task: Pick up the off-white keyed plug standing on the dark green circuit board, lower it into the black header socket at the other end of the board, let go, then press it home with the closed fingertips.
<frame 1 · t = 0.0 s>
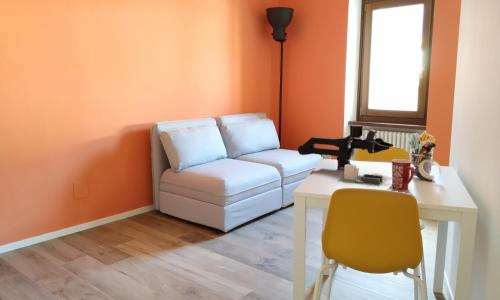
hand: (391, 146, 216), 17 cm above the table, tool horizontal, fingers open, 9 cm apart
board: (362, 183, 207), on the table
header: (371, 184, 204), resting on board
mug: (402, 189, 196), on the table
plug: (349, 178, 210), point 1 cm above the table, touching board
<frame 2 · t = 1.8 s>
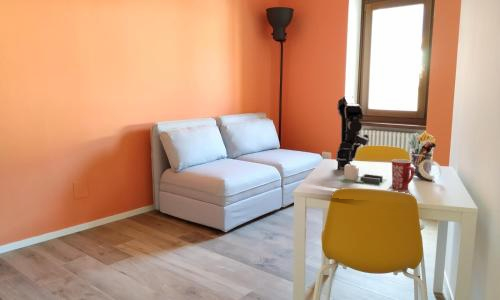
hand: (350, 159, 208), 11 cm above the table, tool pointing down, fingers open, 9 cm apart
nothing on the table moved.
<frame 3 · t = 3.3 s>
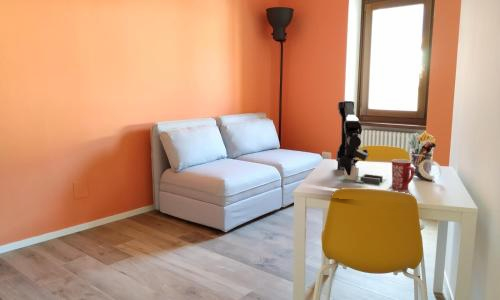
hand: (350, 174, 209), 4 cm above the table, tool pointing down, fingers closed on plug, 3 cm apart
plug: (349, 178, 210), point 2 cm above the table, touching board, gripper
everything else where it was.
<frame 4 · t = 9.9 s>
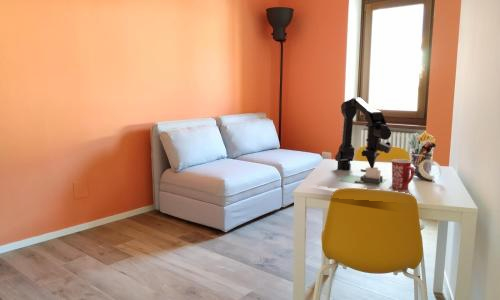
hand: (372, 167, 203), 8 cm above the table, tool pointing down, fingers closed, pressing on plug
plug: (371, 181, 204), point 1 cm above the table, touching board, gripper
everything else where it was.
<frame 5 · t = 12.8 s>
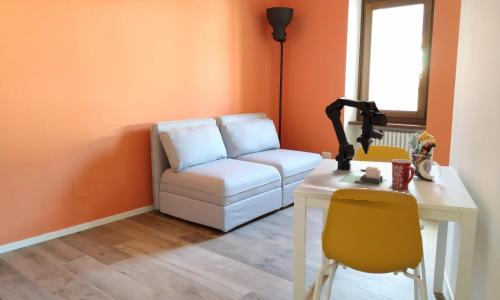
hand: (366, 153, 217), 13 cm above the table, tool pointing down, fingers closed
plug: (371, 181, 204), point 1 cm above the table, touching board
everything else where it was.
at the end: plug 0.1 cm off-centre on the header, point 1.5 cm above the header's base; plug tilted 0°; the gripper is holding nothing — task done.
